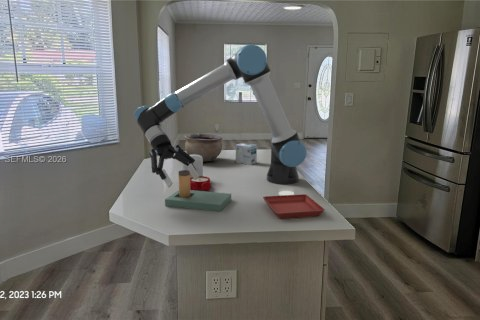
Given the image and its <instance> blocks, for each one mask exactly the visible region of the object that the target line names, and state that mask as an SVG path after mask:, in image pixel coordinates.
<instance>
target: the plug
mask: <svg viewBox="0 0 480 320" xmlns="http://www.w3.org/2000/svg"><path fill="white" fill-rule="evenodd" d="M178 190H179V197H180V198H190V171H188V170H182V169H181V170H179V171H178Z"/></svg>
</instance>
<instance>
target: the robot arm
mask: <svg viewBox="0 0 480 320" xmlns="http://www.w3.org/2000/svg"><path fill="white" fill-rule="evenodd" d="M267 59H268V58H267V54H266V52H265V50H264V49H263V48H262V47H260V45H256V44H251V43H250V44H247V45H243V46H242V47H240V48H239V50H237V52H236V53H235V54H233V55H232V56H231V57H229V58H228V59H226V60H225V61H224V63H223V64H221V65H220V66H218V67H216V68H215V69H213V70H211V71H209V72H207V73H205V74H204V75H203V76H201V77H199V78H197V79H196V80H194V81H192V82H190V83H188V84H187V85H185V86H183V87H181V88H179V89H178V90H176V91H174V92H171V93H169V94H167V95H166V96H164V97H163V98H161V99H160V100H159V101H157V102H156V103H155V104H153V105H152V106H148V105H141V106H139V107H137V108H136V109H135V110H134V112H133V117H134V119H135V120H136V124H137V125H138V126H139V128H140V129H141V131H142V133H143V134H144V136H145V137H146V140H147V141H148V142H149V144H150V146H151V148H152V149H151V150H150V152H149V155H150V162H151V173H153V174H156V175H158V176H159V177H160V179H161V180H162V181H163V182H164V183H165V185H166V186H167V188H168V189H169V188H171V187H172V185H173V183H174V182H173V181H172V180H171V178H170V176H169V174H168V173H167V171H166V169H163V167H164V163H165V160H169V159H173V160H176V161H177V162H180V163H181V164H182V163H183V164H185V165H187V166H188V167H187V169H188V170H189V171H190V173H191V175H192V177H193V178H194V180H197V178H198V177H199V175H198V173H197V172H196V168H195V167H194V165H193V163H194V161H195V160H194V159H193V158H192V157H191V156H190V155H188V154H187V152H186V150H183V149H182V147H181V146H180V145H179V144H176V146H173V145H172V142H171V139H170V138H169V137H168V135H167V133H166V131H165V130H164V128H163V127H162V125H161V124H162V123H163V122H164V121H165V120H167V119H168V118H170V117H172V116H173V115H174V114H175V113H177V112H179V111H180V110H181V109H183V108H184V107H186V106H189V104H192V103H193V102H195V101H197V100H198V99H200V98H202V97H204V96H205V95H207V94H209V93H211V92H212V91H214V90H216V89H218V88H220V87H222V86H223V85H225V84H227V83H228V82H230V81H232V80H234V81H237V80H239V79H240V78H242V79H243V81H244V84H246V85H248V86H250V88H251V90H252V93H253V95H254V97H255V99H256V101H257V104H258V106H259V108H260V111H261V113H262V115H263V117H264V119H265V122H266V124H267V127H268V129H269V131H270V133H271V139H270V142H271V143H270V144H271V145H270V146H271V147H270V148H271V149H270V165H269V168H268V171H267V174H266V180H267V182H270V183H272V184H278V185H279V184H280V185H284V184H285V185H288V184H296V183H298V182H299V179H300V177H299V173H298V170H297V167H299V166H300V165H301V164H302V163H304V161H305V160H306V157H307V147H306V146H305V144H304V143H303V142H302V140H301V138H300V136H299V134H298V132H297V130H296V129H293V128H292V126H291V125H290V122H289V120H288V118H287V115H286V113H285V110H284V108H283V106H282V104H281V102H280V99H279V97H278V94H277V92H276V89H275V88H274V84H273V83H272V81H271V78H270V74H271V72H272V71H271V69H270V67H269V63H268V60H267ZM158 156H159V158H158Z"/></svg>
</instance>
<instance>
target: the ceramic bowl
mask: <svg viewBox="0 0 480 320" xmlns="http://www.w3.org/2000/svg"><path fill="white" fill-rule="evenodd" d="M184 138H185V144H184V149H185V152H186V153H187V154H188V155H200V156H202V158H203V163H204V162H211V161H214V160H216V159H217V157H219V156H220V154H221V153H222V150H223V143H222V140H223V138H224V137H223V135H220V134H217V133H208V132H207V133H204V132H202V133H201V132H200V133H198V134H197V133H190V134H189V136H188V135H184Z"/></svg>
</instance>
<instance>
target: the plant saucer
mask: <svg viewBox="0 0 480 320" xmlns="http://www.w3.org/2000/svg"><path fill="white" fill-rule="evenodd" d="M262 198H263V200H264V202H265V204H267V206H268V207H269V209H271V211H272V212H273V213H274V214H275V215H276V216H277V217H278V219H292V218H293V219H294V218H295V219H296V218H306V217H308V218H310V217H318V216H320V215H321V214H323V213H324V212H325V211H326V209H325V208H324V207H323V206H321V205H320V204H319V203H318V202H317V201H315V200H314V199H312V197H310V196H309V195H307V194H305V193H304V194H301V193H300V194H286V195H285V194H283V195H270V196H269V195H267V196H262Z"/></svg>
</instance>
